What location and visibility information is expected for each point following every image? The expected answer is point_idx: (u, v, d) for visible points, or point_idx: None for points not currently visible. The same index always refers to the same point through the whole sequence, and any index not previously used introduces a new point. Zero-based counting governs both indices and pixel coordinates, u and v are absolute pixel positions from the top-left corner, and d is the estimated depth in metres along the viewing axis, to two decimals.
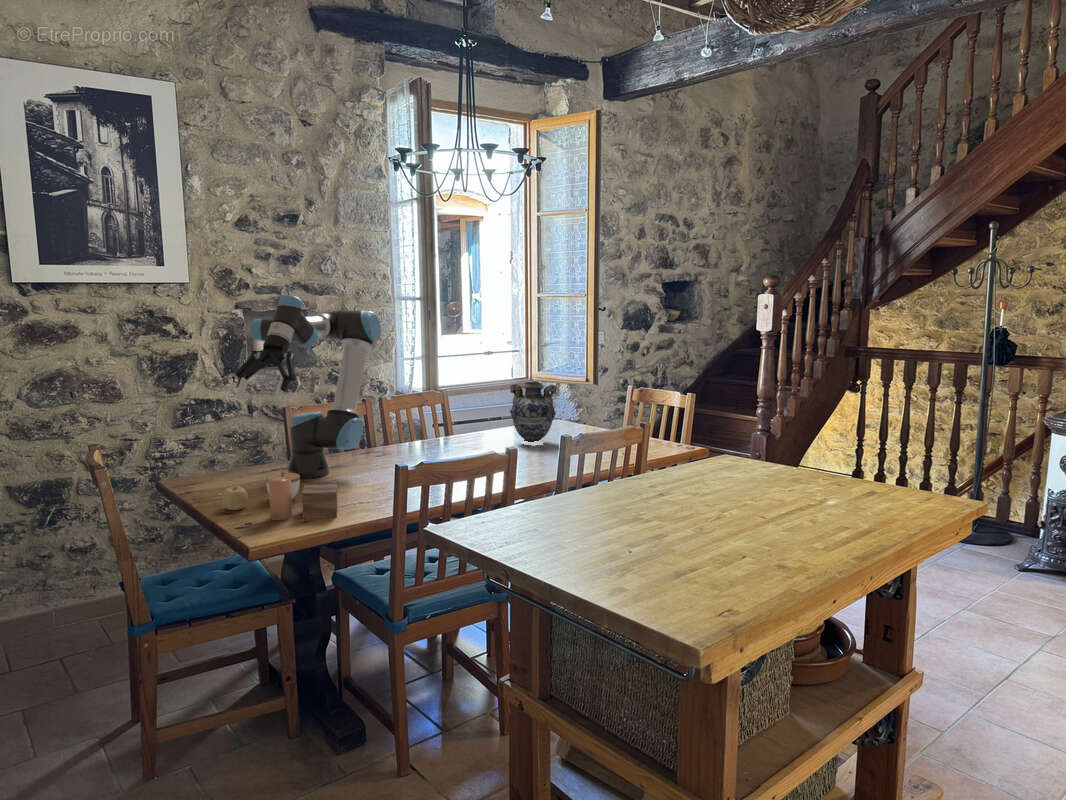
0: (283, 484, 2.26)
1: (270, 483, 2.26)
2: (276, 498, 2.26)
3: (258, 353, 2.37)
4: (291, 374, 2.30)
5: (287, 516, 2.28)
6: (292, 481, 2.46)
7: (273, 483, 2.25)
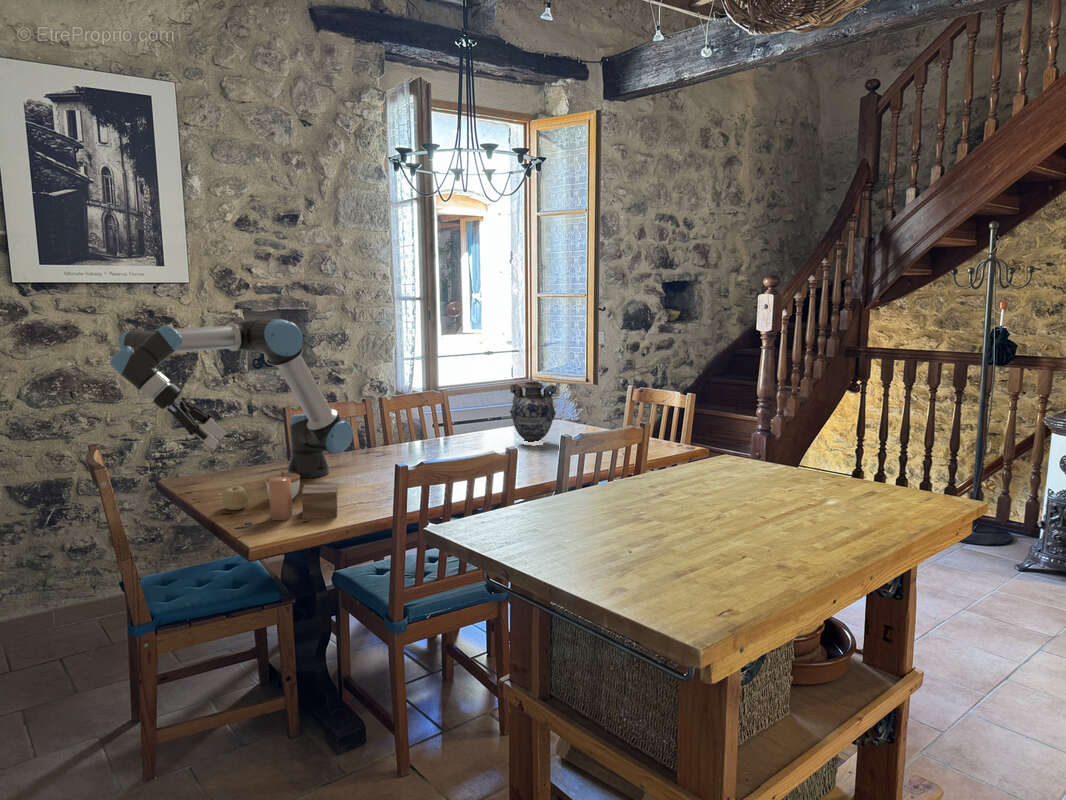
0: (283, 484, 2.26)
1: (270, 483, 2.26)
2: (276, 498, 2.26)
3: None
4: (187, 430, 2.11)
5: (287, 516, 2.28)
6: (292, 481, 2.46)
7: (273, 483, 2.25)
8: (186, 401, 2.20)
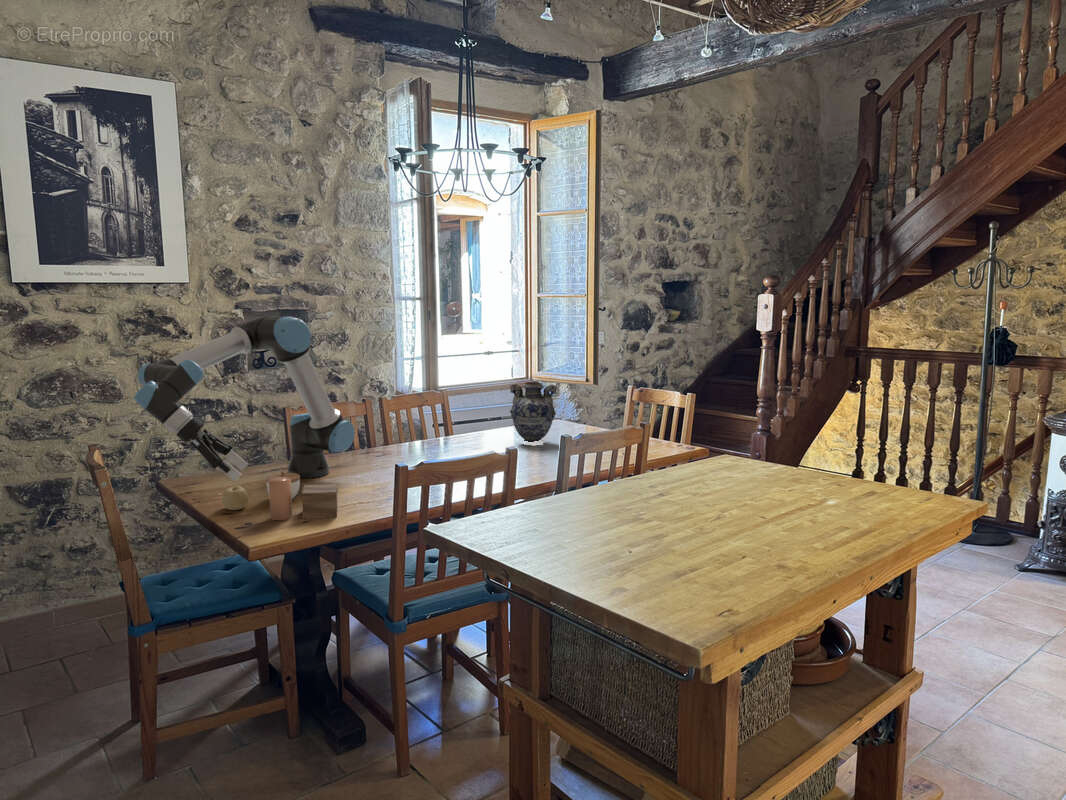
0: (283, 484, 2.26)
1: (270, 483, 2.26)
2: (276, 498, 2.26)
3: None
4: (211, 464, 2.14)
5: (287, 516, 2.28)
6: (292, 481, 2.46)
7: (273, 483, 2.25)
8: (208, 434, 2.23)
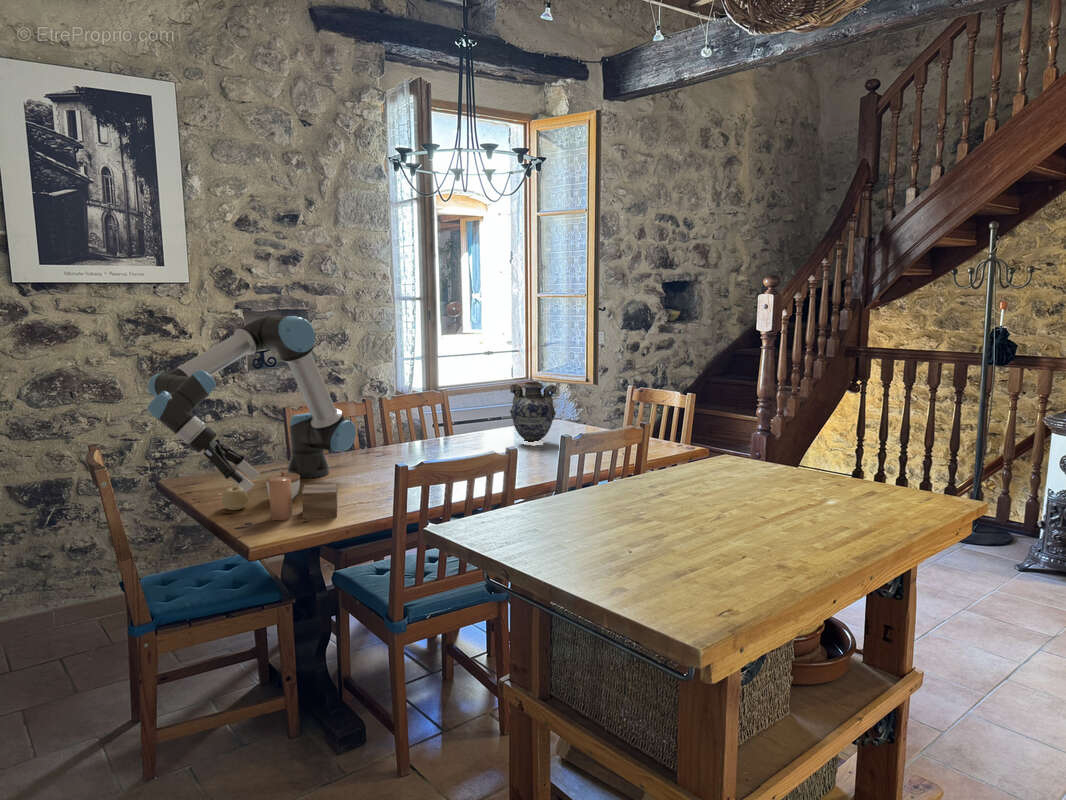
0: (283, 484, 2.26)
1: (270, 483, 2.26)
2: (276, 498, 2.26)
3: None
4: (223, 474, 2.14)
5: (287, 516, 2.28)
6: (292, 481, 2.46)
7: (273, 483, 2.25)
8: (221, 444, 2.24)
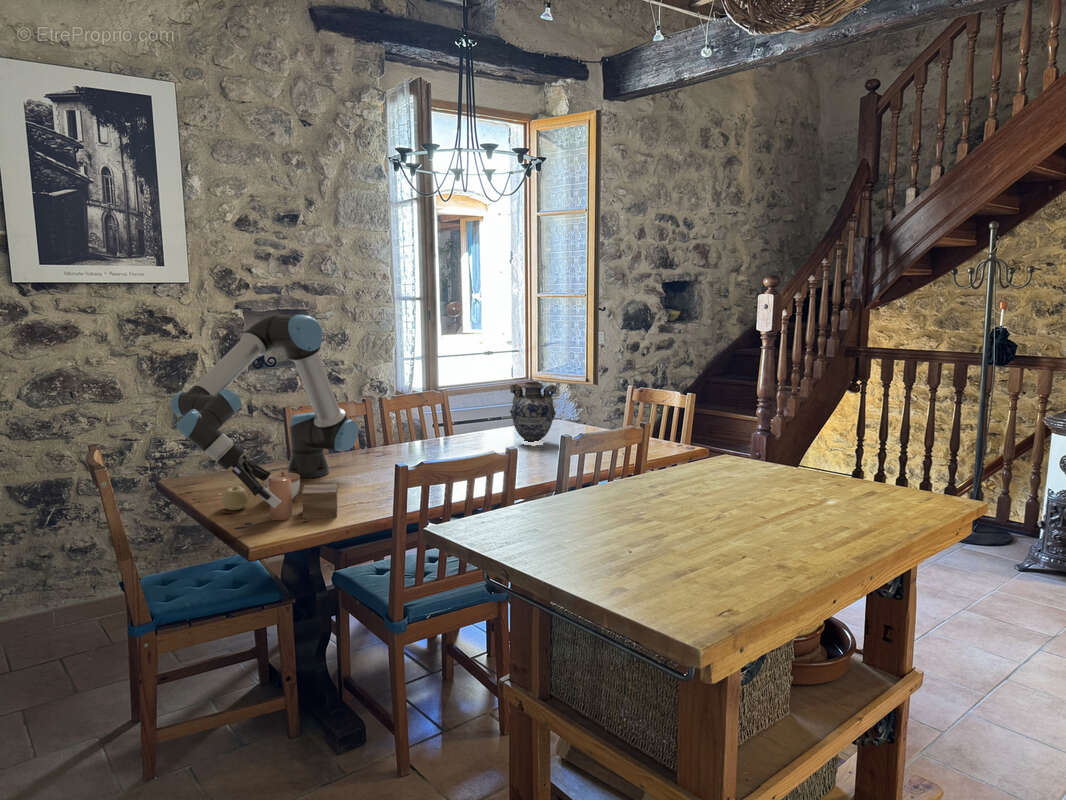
0: (283, 484, 2.26)
1: (270, 483, 2.26)
2: None
3: None
4: (252, 491, 2.17)
5: (287, 516, 2.28)
6: (292, 481, 2.46)
7: (273, 483, 2.25)
8: (248, 460, 2.27)
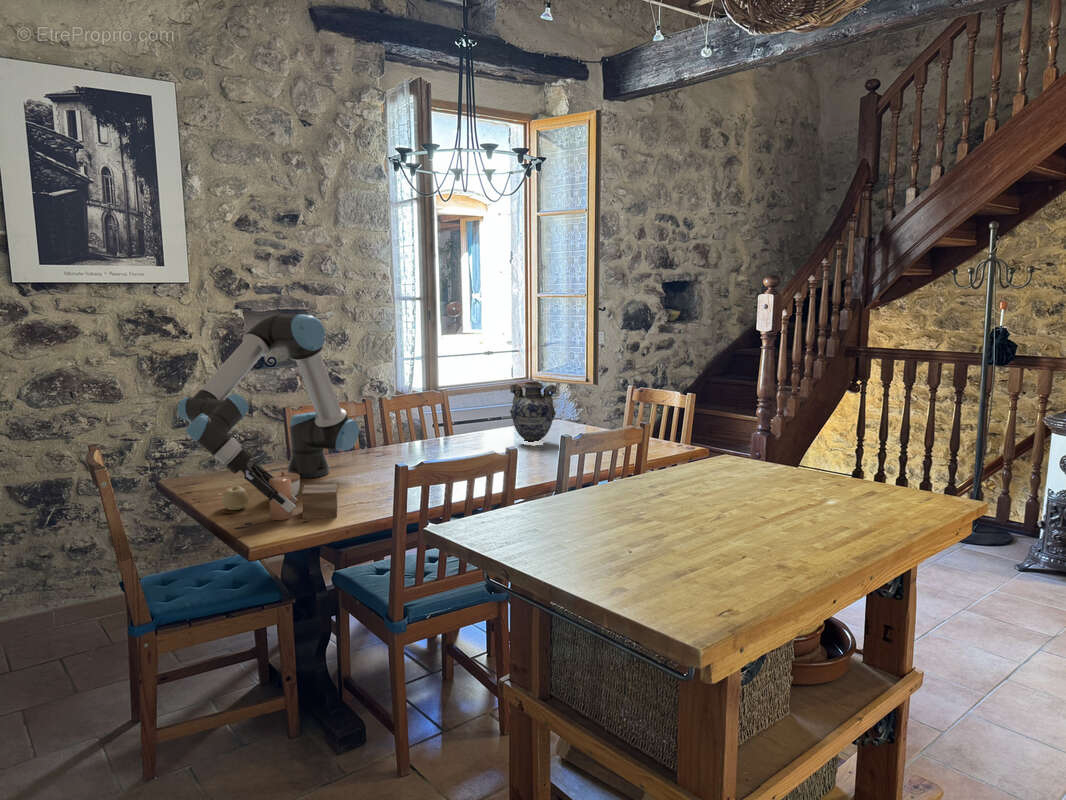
0: (283, 484, 2.26)
1: (270, 483, 2.26)
2: None
3: None
4: None
5: (287, 516, 2.28)
6: (292, 481, 2.46)
7: (273, 483, 2.25)
8: (257, 465, 2.28)
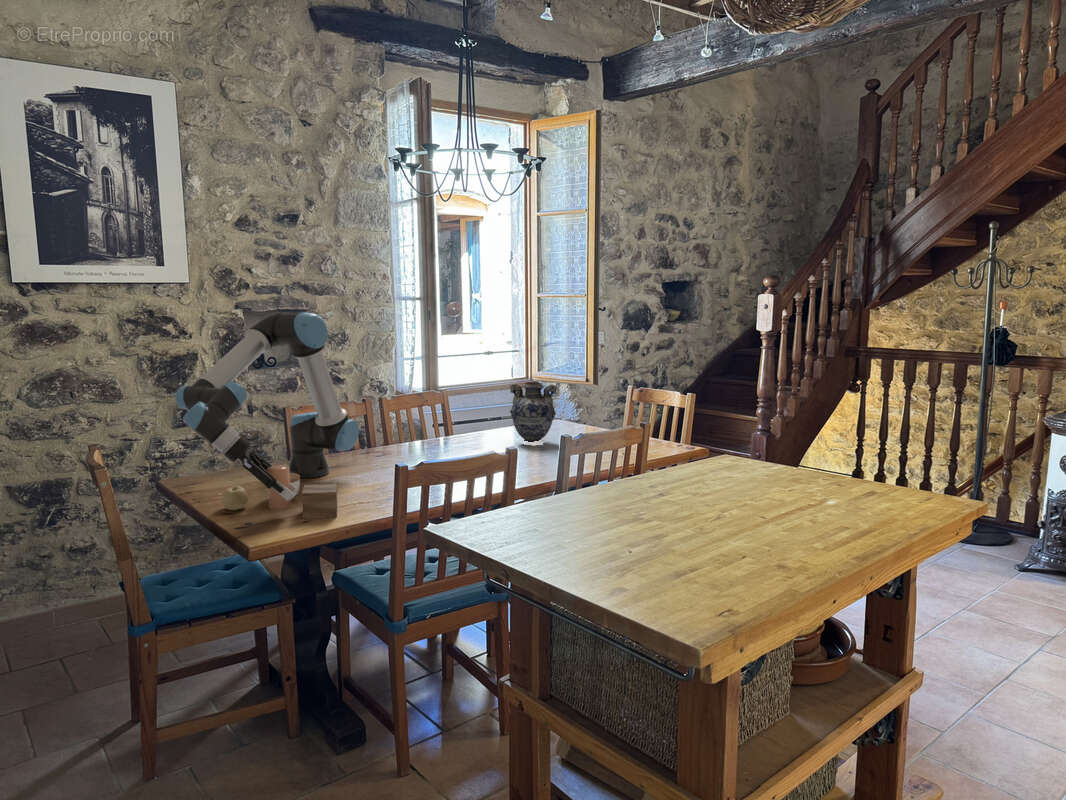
0: (282, 472, 2.25)
1: (268, 471, 2.25)
2: None
3: None
4: (266, 485, 2.21)
5: (285, 504, 2.27)
6: (292, 481, 2.46)
7: (271, 471, 2.24)
8: (255, 453, 2.27)
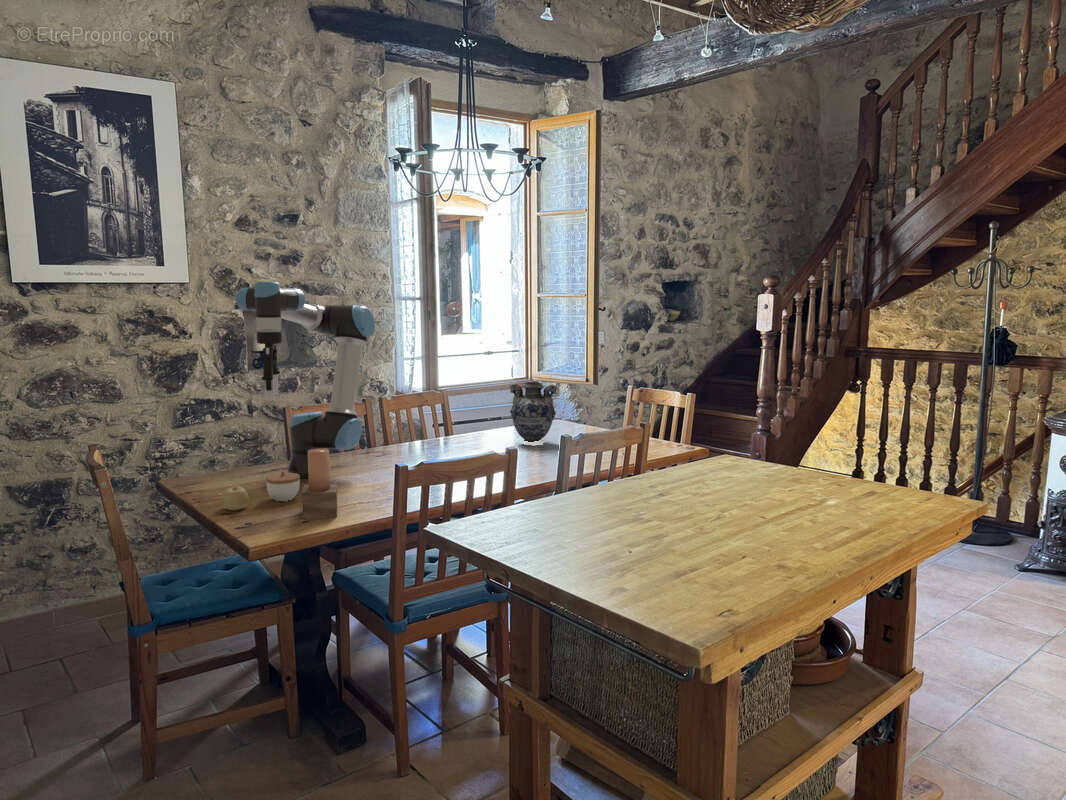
0: (322, 454, 2.29)
1: (309, 454, 2.29)
2: (315, 469, 2.29)
3: None
4: None
5: (325, 487, 2.31)
6: (292, 481, 2.46)
7: (312, 454, 2.29)
8: None
